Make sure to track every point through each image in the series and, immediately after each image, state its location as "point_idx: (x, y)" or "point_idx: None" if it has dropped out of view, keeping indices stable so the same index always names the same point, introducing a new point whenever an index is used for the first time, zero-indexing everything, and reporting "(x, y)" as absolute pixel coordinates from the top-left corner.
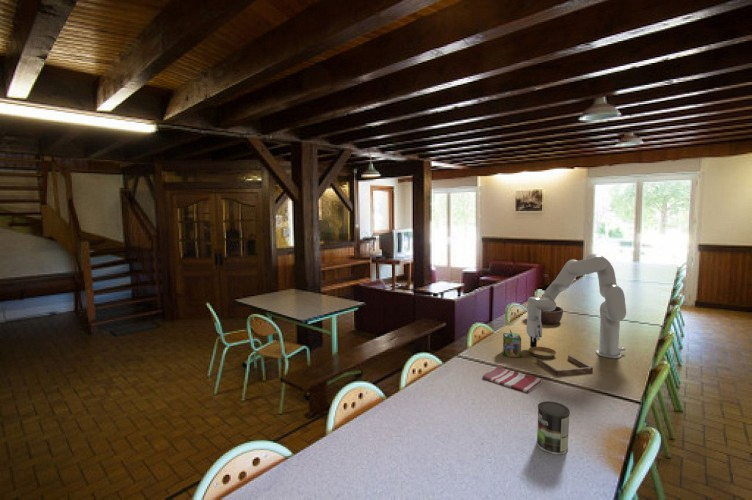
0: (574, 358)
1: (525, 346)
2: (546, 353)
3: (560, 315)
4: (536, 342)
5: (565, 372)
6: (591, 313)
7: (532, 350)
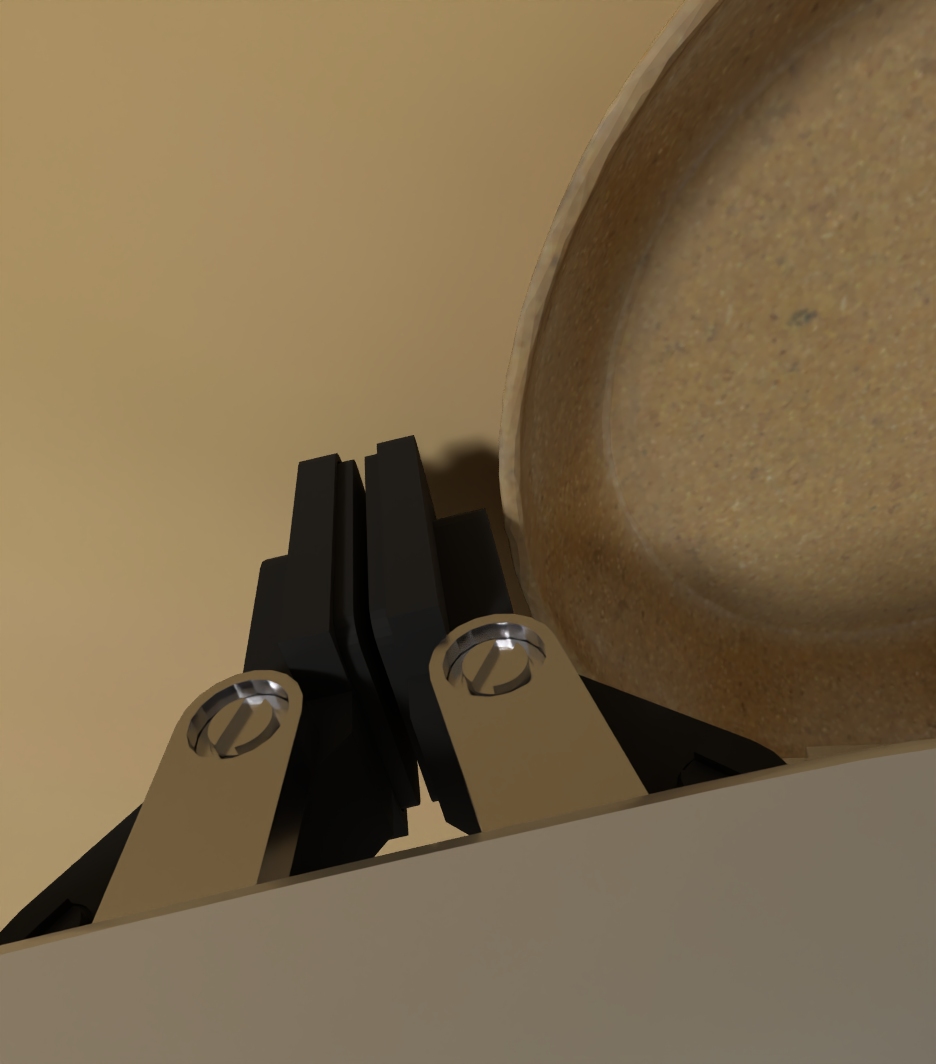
0: None
1: (105, 653)
2: (914, 151)
3: None
4: (433, 562)
5: None
6: None
7: (634, 603)
